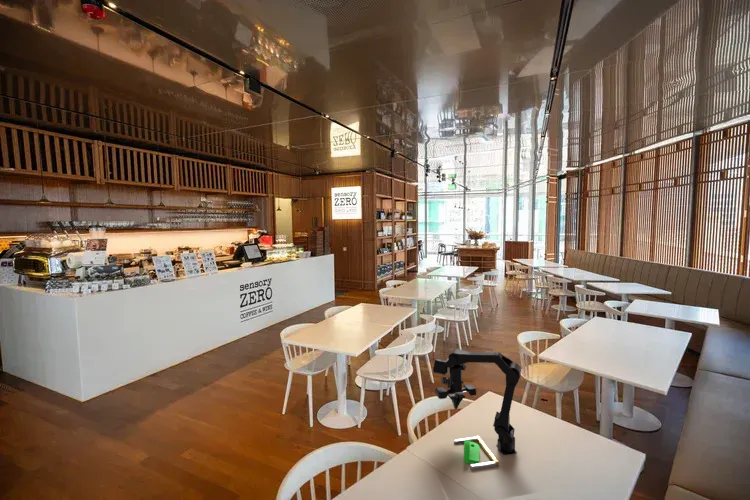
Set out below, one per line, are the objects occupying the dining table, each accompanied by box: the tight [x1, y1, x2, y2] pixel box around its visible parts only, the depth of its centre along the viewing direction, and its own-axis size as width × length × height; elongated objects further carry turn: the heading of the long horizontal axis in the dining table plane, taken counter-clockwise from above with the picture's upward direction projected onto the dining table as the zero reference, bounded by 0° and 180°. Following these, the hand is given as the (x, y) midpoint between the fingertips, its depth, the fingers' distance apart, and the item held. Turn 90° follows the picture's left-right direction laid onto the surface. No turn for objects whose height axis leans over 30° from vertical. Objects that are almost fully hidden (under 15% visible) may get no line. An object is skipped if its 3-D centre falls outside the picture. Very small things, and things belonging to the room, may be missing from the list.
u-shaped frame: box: [453, 435, 500, 471], centre depth 144 cm, size 12×17×2 cm
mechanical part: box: [463, 440, 481, 465], centre depth 144 cm, size 12×6×8 cm, turn 161°
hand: (455, 408), depth 157 cm, fingers closed
